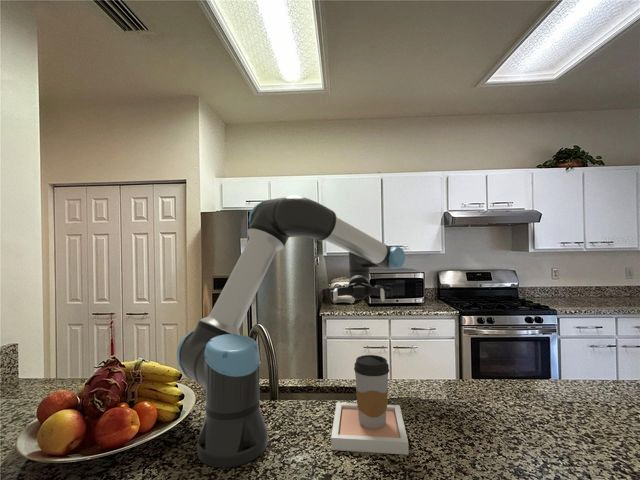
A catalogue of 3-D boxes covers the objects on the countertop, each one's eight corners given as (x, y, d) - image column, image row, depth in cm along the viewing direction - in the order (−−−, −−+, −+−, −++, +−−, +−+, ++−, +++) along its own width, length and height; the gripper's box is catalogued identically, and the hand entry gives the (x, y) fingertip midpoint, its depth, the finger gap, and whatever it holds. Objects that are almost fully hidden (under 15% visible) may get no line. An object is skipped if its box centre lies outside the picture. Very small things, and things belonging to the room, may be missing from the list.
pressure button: (339, 441, 74) (339, 437, 74) (342, 412, 87) (342, 408, 87) (399, 445, 72) (399, 440, 72) (393, 415, 85) (393, 411, 85)
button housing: (331, 449, 72) (331, 437, 72) (336, 412, 88) (336, 402, 88) (408, 454, 70) (408, 442, 70) (399, 415, 86) (399, 405, 86)
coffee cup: (387, 414, 83) (386, 354, 83) (392, 433, 75) (391, 366, 75) (354, 413, 84) (353, 354, 84) (355, 432, 76) (354, 366, 76)
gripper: (396, 298, 113) (404, 310, 92) (323, 297, 116) (315, 309, 95) (395, 275, 113) (403, 282, 92) (323, 276, 116) (314, 282, 95)
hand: (358, 296), depth 94 cm, fingers open, 13 cm apart
